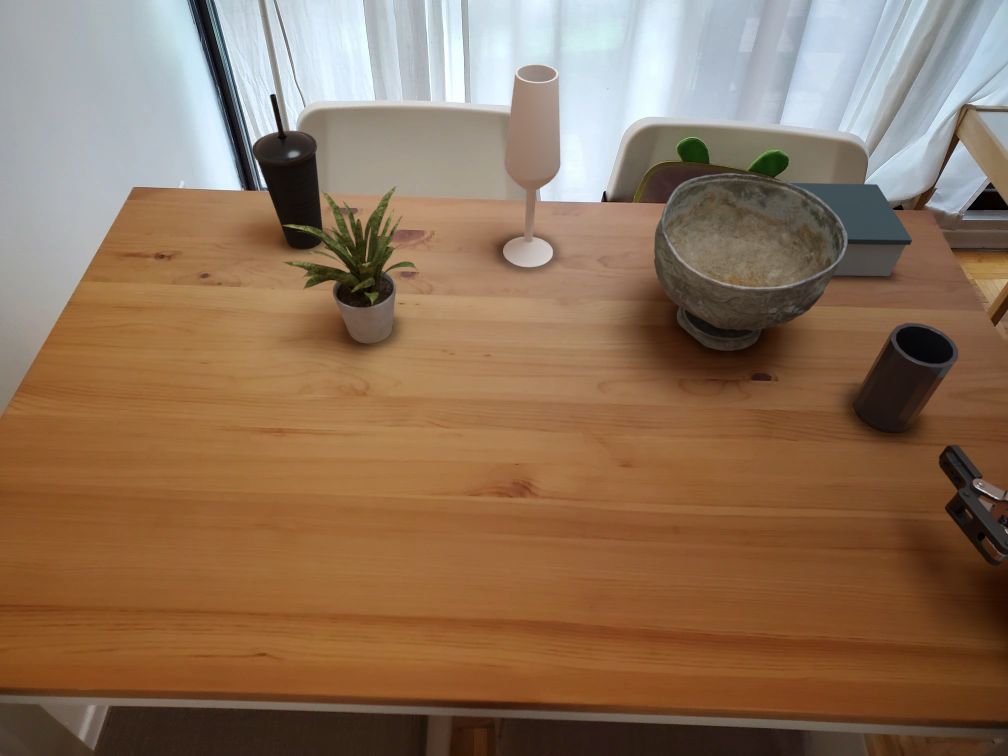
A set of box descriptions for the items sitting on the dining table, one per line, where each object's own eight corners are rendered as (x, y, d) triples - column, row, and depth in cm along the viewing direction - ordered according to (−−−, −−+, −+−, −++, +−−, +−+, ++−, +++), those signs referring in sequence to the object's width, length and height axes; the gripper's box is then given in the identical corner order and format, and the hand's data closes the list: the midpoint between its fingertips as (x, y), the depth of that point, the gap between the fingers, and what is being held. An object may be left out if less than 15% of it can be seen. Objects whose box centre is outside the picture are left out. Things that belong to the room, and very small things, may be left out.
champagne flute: (541, 273, 93) (553, 92, 75) (494, 258, 95) (495, 79, 77) (561, 244, 97) (577, 67, 79) (515, 231, 99) (521, 55, 81)
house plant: (349, 272, 92) (328, 156, 80) (448, 297, 89) (442, 181, 77) (289, 344, 83) (255, 227, 71) (397, 376, 80) (381, 258, 68)
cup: (901, 389, 80) (942, 323, 73) (923, 433, 76) (969, 367, 68) (845, 388, 80) (881, 322, 73) (864, 432, 76) (904, 366, 68)
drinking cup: (329, 256, 94) (300, 111, 80) (270, 256, 94) (230, 110, 80) (338, 222, 100) (312, 80, 85) (282, 221, 99) (247, 79, 85)
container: (860, 221, 102) (877, 184, 97) (892, 278, 93) (912, 240, 89) (772, 219, 102) (784, 182, 97) (796, 276, 93) (811, 238, 89)
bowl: (651, 385, 80) (678, 280, 69) (628, 274, 93) (647, 171, 82) (828, 385, 80) (882, 280, 69) (780, 275, 93) (819, 172, 82)
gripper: (1247, 571, 52) (1081, 404, 63) (1078, 607, 50) (937, 428, 61) (1175, 617, 57) (1033, 456, 68) (1019, 651, 55) (899, 480, 66)
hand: (988, 443), depth 64 cm, fingers open, 8 cm apart
